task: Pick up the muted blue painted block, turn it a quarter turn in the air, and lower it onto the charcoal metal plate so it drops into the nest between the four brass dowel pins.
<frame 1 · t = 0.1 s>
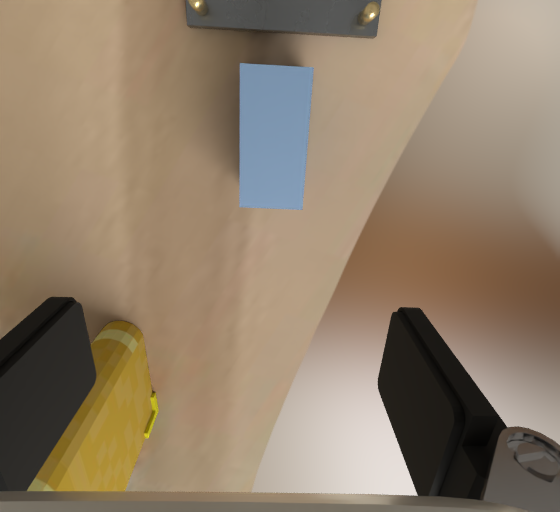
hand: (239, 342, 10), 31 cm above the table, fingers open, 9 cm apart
blue block: (273, 135, 37), on the table
book: (129, 367, 50), on the table
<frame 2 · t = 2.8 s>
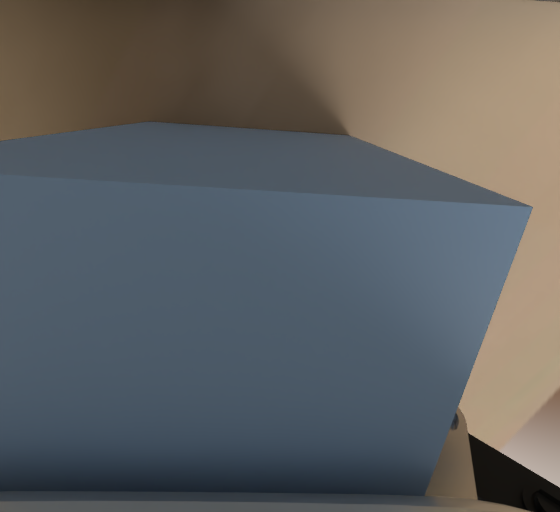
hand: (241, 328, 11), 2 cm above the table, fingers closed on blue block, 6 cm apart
blue block: (245, 300, 13), on the table, touching gripper
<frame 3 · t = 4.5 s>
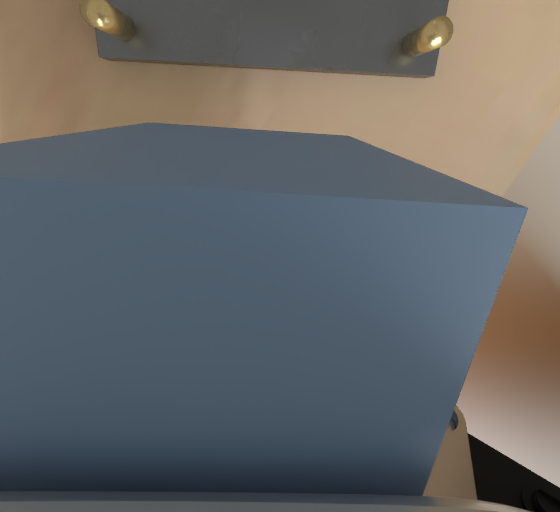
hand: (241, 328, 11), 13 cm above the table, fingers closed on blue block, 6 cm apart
blue block: (245, 300, 13), point 11 cm above the table, touching gripper
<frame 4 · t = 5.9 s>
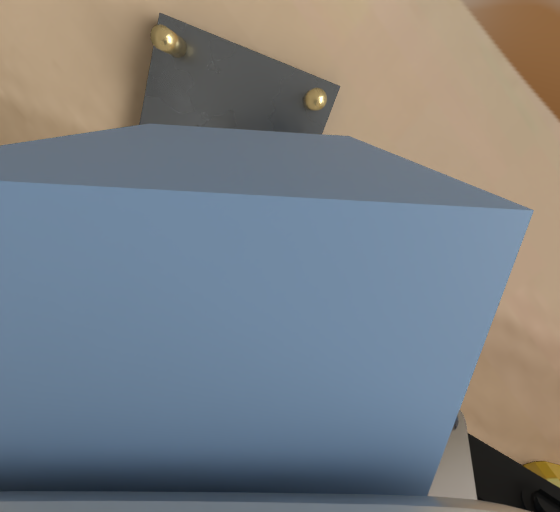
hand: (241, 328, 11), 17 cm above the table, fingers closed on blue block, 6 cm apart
dowel plate: (218, 181, 26), on the table
blue block: (246, 301, 13), point 15 cm above the table, touching gripper
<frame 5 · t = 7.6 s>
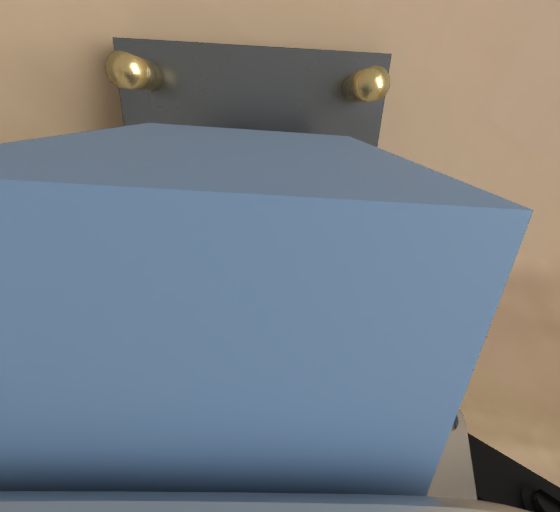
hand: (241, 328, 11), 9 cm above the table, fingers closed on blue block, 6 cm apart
dowel plate: (252, 232, 19), on the table
blue block: (245, 301, 13), point 7 cm above the table, touching gripper
when the fingers open (4 cm above the table, at t = 9.1 s): blue block stays where it is, resting on dowel plate.
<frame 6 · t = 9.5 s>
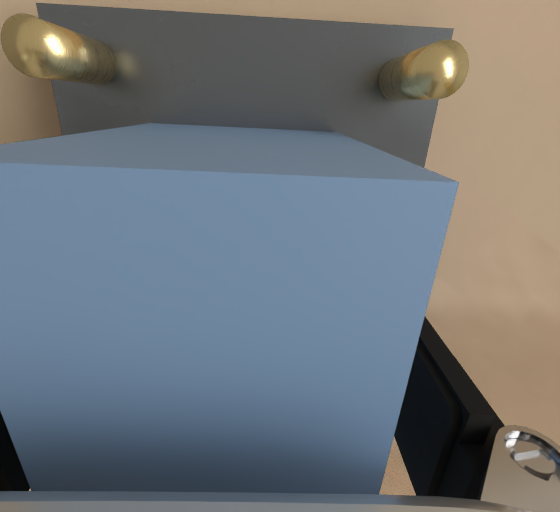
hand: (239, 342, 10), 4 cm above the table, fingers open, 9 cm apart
dowel plate: (248, 275, 15), on the table
blue block: (243, 289, 13), point 1 cm above the table, touching dowel plate
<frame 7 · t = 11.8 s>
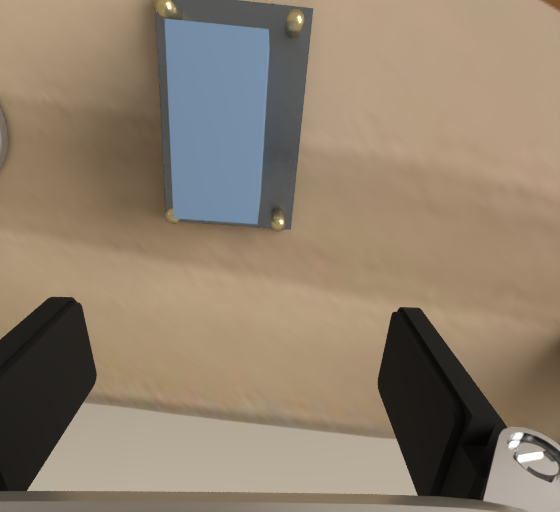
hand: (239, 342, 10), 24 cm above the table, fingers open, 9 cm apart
dowel plate: (232, 125, 31), on the table
blue block: (230, 126, 29), point 1 cm above the table, touching dowel plate
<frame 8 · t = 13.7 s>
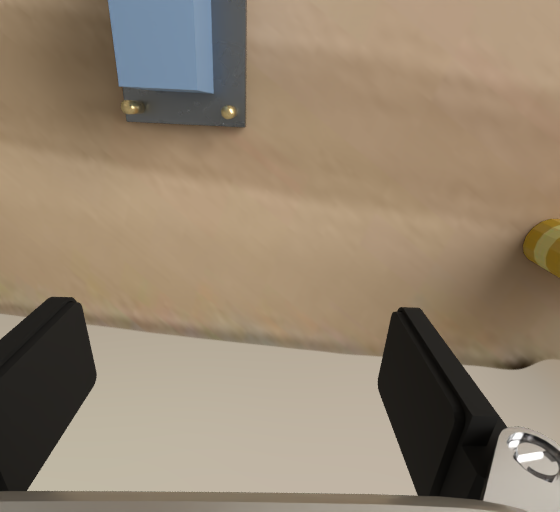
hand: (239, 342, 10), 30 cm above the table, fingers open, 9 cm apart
dowel plate: (183, 22, 32), on the table
blue block: (178, 19, 31), point 1 cm above the table, touching dowel plate
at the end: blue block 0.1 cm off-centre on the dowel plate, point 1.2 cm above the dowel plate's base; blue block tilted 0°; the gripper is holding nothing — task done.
